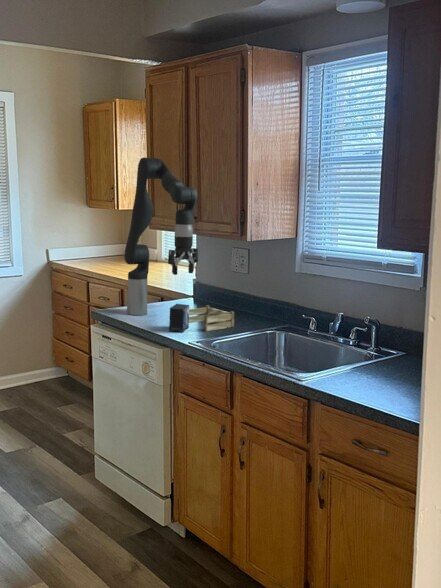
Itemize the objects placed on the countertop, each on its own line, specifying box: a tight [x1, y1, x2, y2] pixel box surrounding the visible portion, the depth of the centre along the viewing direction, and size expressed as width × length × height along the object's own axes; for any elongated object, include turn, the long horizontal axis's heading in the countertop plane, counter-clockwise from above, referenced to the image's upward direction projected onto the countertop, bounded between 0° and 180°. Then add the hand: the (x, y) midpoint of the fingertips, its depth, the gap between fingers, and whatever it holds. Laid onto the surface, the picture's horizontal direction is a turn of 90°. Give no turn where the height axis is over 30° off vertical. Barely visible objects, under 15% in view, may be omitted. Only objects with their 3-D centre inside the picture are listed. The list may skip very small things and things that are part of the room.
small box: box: [168, 303, 190, 333], centre depth 276 cm, size 11×6×10 cm, turn 168°
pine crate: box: [189, 304, 235, 332], centre depth 287 cm, size 18×16×7 cm
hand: (182, 273), depth 268 cm, fingers open, 8 cm apart
